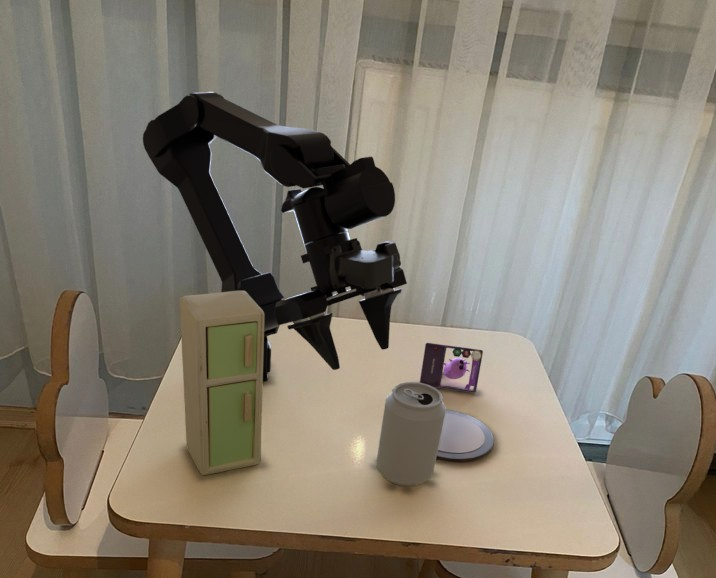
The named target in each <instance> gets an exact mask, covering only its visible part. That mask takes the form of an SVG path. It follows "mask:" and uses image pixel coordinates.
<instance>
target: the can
mask: <svg viewBox="0 0 716 578" xmlns="http://www.w3.org/2000/svg"><path fill="white" fill-rule="evenodd" d="M384 401H385V402H384V408H383V415H382V422H381V429H380V436H379V443H378V448H377V456H376V462H375V463H376V469H377V471H378V473H379V474H381V476H383V477H384V478H385V480H387V481H388V482H390V483H391V484H394V485H397V486H401V487H415V486H418V485H421V484H423V483H425V482H427V481H428V480H430V479H431V478H432V475H433V474H434V470H435V466H436V461H437V459H436V457H437V452H438V447H439V442H440V437H441V432H442V427H443V423H444V418H445V413H446V410H447V409H446V405H445V403H444V402H443V401H444V397H443V394H442V393H441V391H440V390H438V389H437V388H436V387H432V386H430V385H427V384H423V383H420V382H418V381H409V382H408V381H405V382H400V383H398V384H396V385H395V386H394V387H393V388H392V389H391V393H390V394H388V396H387V397H386V398H385V400H384Z"/></svg>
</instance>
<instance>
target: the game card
mask: <svg viewBox="0 0 716 578" xmlns="http://www.w3.org/2000/svg"><path fill="white" fill-rule="evenodd" d="M447 349H451V350H452V351H451V352H452V355H453V357H456V358H453V359H452V358H449V359H448V361H449V362H445V360H446V359H445V358H446V353H447ZM483 354H484V350H483V349H478V348H470V347H462V346H457V345H450V344H449V345H448V344H440V343H433V342H425V344H424V353H423V358H422V365H421V371H420V378H419V383H423V384H427V385H430V386H432V387H434V388H436V389H437V388H439V389H445V390H453V391H460V392H468V393H476V392H477V389H478V382H479V377H480V371H481V365H482V359H483ZM461 356H462V358H460V357H461ZM470 357H471V363H470V362H468V361H467V359H469V358H470ZM464 358H465V359H464ZM470 364H471V368H470V370H469V369H468V367H467V365H470ZM467 372H468V373H469V372H470V375H469V378H468V383H466V384H465V387H458V386H450V385H443V384H442V378H443V376H444V377H446V378H447V379H450V380H459V379H461V378H463V377H464V376H465V375H466V373H467ZM471 387H473V388H471Z"/></svg>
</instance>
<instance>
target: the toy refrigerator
mask: <svg viewBox="0 0 716 578" xmlns="http://www.w3.org/2000/svg"><path fill="white" fill-rule="evenodd" d="M179 316H180V317H179V319H180V337H181V338H180V339H181V357H182V378H183V400H184V401H183V402H184V419H185V439H186V440H185V441H186V448H187V451H188V453H189V455H190V457H191V459H192V461H193V462H194V464H195V466H196V468H197V470H198V472H199V473H200V475H201V476H208V475H213V474H218V473H222V472H227V471H232V470H237V469H241V468H246V467H252V466H256V465H259V464H260V463H261V461H262V425H263V424H262V422H263V421H262V419H263V416H262V415H263V387H264V386H263V354H264V312H263V310H262V309H261V308H260V307H259V306H258V305H257V304H256V302H255V301H254V300H253V299H252V298H251V297H250V296H249V295H248V293H247V292H246V291H229V292H221V291H220V292H210V293H209V292H208V293H200V294H189V295H183V296H180V297H179Z"/></svg>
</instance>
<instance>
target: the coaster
mask: <svg viewBox="0 0 716 578" xmlns="http://www.w3.org/2000/svg"><path fill="white" fill-rule="evenodd" d="M493 435H494V434H493V433H492V432H491V430H490V428H489V427H487V426H486V424H484V423H483V422H482V421H480V420H479V419H477V418H475V417H474V416H471V415H469V414H466V413H464V412H460V411H457V410H452V409H446V413H445V418H444V423H443V427H442V432H441V437H440V442H439V447H438V452H437V457H436V460H438V461H441V462H442V461H443V462H448V463H468V462H475V461H478V460H481V459H482V458H484V457H486V456H487V455H488V454H489V453H491V451H492V449H493V446H494V436H493Z"/></svg>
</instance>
